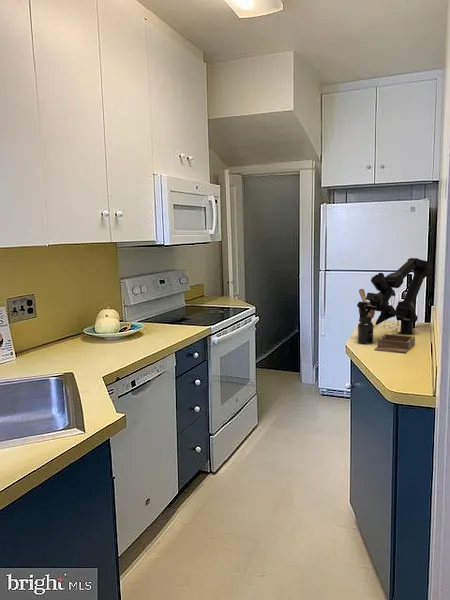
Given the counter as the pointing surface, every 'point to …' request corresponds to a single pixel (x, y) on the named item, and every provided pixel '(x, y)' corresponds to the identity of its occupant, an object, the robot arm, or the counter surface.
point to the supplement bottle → (365, 331)
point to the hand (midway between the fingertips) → (367, 323)
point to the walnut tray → (395, 343)
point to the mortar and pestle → (362, 294)
